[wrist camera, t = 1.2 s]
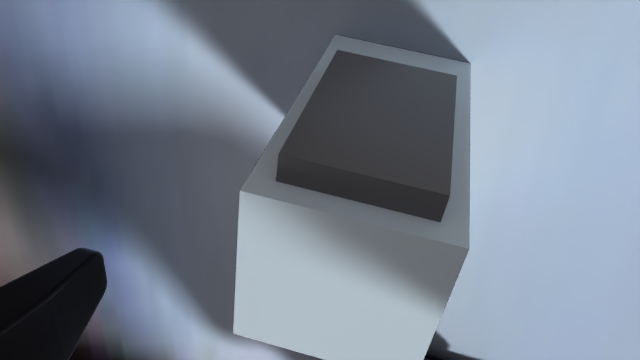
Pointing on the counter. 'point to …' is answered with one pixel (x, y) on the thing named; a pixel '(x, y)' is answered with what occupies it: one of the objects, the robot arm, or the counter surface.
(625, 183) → the counter surface
